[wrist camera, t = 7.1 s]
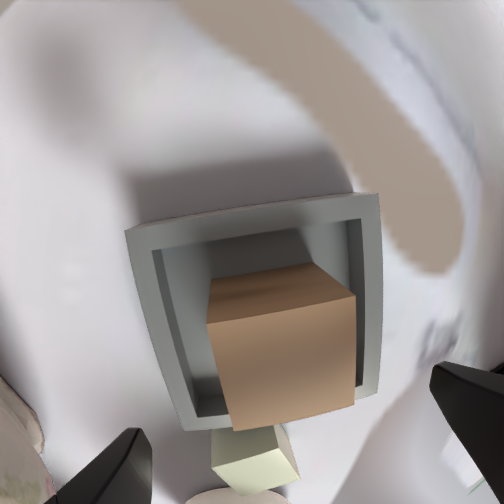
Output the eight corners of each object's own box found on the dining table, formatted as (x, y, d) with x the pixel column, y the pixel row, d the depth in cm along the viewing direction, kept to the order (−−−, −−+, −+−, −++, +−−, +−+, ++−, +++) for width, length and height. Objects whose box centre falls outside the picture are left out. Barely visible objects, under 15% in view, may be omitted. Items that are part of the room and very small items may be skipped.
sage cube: (268, 403, 17) (278, 447, 13) (288, 437, 18) (300, 478, 14) (211, 422, 17) (211, 467, 13) (237, 454, 18) (241, 496, 14)
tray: (354, 192, 15) (378, 193, 12) (360, 370, 17) (377, 393, 14) (140, 224, 14) (124, 230, 11) (187, 403, 16) (184, 431, 14)
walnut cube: (320, 349, 15) (354, 404, 11) (229, 366, 15) (234, 431, 10) (313, 262, 14) (355, 295, 10) (211, 279, 14) (206, 324, 9)
